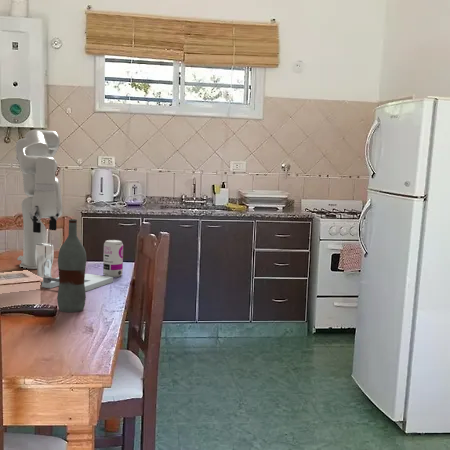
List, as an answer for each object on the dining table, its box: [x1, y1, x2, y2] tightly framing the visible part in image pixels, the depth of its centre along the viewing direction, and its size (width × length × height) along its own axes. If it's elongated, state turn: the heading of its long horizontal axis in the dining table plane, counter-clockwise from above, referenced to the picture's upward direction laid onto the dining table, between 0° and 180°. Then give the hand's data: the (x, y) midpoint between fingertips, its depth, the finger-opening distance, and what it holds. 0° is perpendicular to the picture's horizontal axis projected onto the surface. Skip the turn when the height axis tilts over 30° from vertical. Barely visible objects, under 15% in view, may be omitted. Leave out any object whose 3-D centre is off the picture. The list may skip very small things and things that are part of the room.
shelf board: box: [41, 272, 114, 293], centre depth 220 cm, size 18×22×4 cm
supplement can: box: [102, 239, 124, 278], centre depth 240 cm, size 8×8×15 cm
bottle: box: [56, 218, 87, 313], centre depth 184 cm, size 9×9×30 cm
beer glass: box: [35, 242, 55, 278], centre depth 223 cm, size 7×7×15 cm
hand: (44, 231), depth 222 cm, fingers open, 9 cm apart
